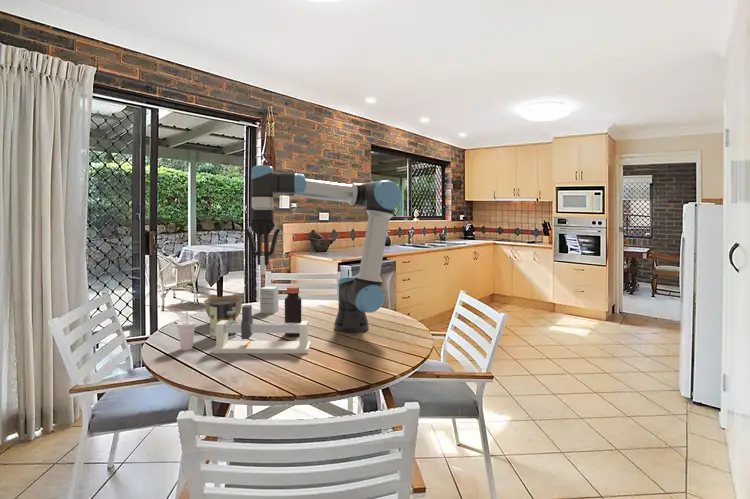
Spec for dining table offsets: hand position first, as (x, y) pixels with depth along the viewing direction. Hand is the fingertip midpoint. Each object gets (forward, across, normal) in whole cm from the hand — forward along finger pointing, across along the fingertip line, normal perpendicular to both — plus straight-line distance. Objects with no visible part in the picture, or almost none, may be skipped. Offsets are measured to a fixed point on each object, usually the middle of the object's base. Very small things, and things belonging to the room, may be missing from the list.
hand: (263, 274), depth 156 cm
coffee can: (+28, +20, -17) cm, 39 cm away
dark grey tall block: (+23, +6, 0) cm, 24 cm away
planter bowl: (+28, +26, -37) cm, 53 cm away
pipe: (+22, 0, 0) cm, 22 cm away
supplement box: (+28, +11, -60) cm, 68 cm away
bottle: (+28, -8, -19) cm, 35 cm away
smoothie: (+28, +28, 0) cm, 40 cm away
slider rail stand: (+28, 0, 0) cm, 28 cm away
